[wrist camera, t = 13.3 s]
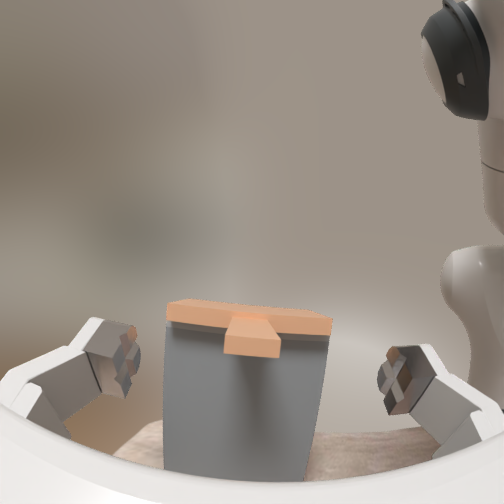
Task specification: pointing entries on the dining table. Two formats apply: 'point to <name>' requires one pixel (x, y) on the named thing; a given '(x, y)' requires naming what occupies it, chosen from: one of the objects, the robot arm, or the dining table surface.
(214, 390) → the crate
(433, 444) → the dining table surface
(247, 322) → the lid
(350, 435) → the dining table surface
